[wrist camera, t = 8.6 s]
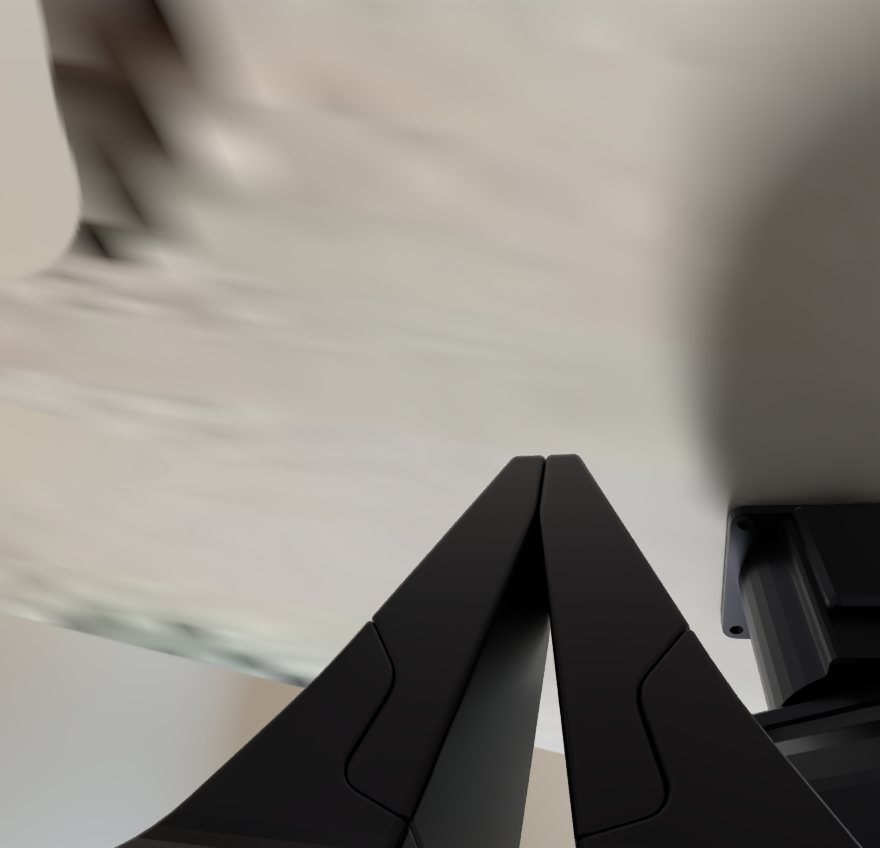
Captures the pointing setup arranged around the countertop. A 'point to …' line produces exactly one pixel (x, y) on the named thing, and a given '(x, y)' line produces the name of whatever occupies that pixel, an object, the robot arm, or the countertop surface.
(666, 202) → the countertop surface
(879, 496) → the countertop surface
